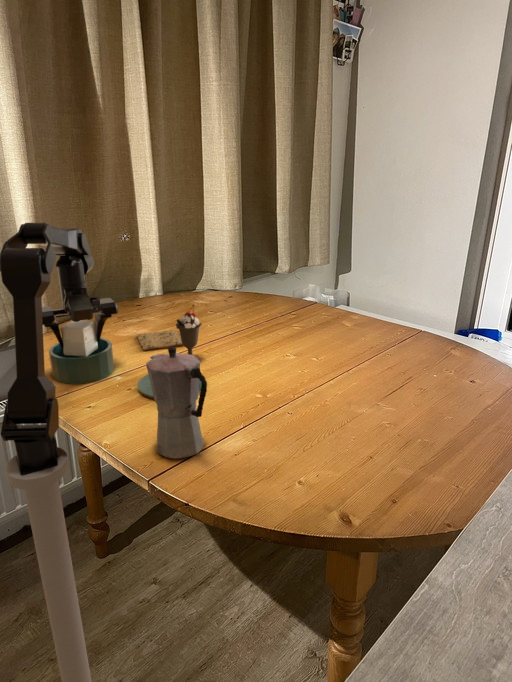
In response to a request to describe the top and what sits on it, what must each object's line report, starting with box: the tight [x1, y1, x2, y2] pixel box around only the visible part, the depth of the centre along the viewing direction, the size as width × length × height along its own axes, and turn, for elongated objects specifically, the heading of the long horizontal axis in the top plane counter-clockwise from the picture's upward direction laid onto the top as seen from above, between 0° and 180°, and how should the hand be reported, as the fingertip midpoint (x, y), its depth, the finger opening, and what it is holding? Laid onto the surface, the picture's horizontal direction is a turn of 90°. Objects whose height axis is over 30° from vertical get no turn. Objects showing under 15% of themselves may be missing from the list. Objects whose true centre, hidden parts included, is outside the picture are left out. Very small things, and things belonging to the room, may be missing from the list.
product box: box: [60, 320, 98, 357], centre depth 122 cm, size 6×6×7 cm
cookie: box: [136, 329, 183, 351], centre depth 145 cm, size 12×12×1 cm
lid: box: [137, 373, 202, 399], centre depth 117 cm, size 16×16×6 cm
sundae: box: [175, 304, 202, 362], centre depth 130 cm, size 7×7×15 cm
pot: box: [48, 337, 115, 385], centre depth 124 cm, size 15×15×6 cm
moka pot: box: [145, 346, 208, 459], centre depth 91 cm, size 10×15×20 cm, turn 51°
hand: (80, 344), depth 123 cm, fingers closed on product box, 8 cm apart
